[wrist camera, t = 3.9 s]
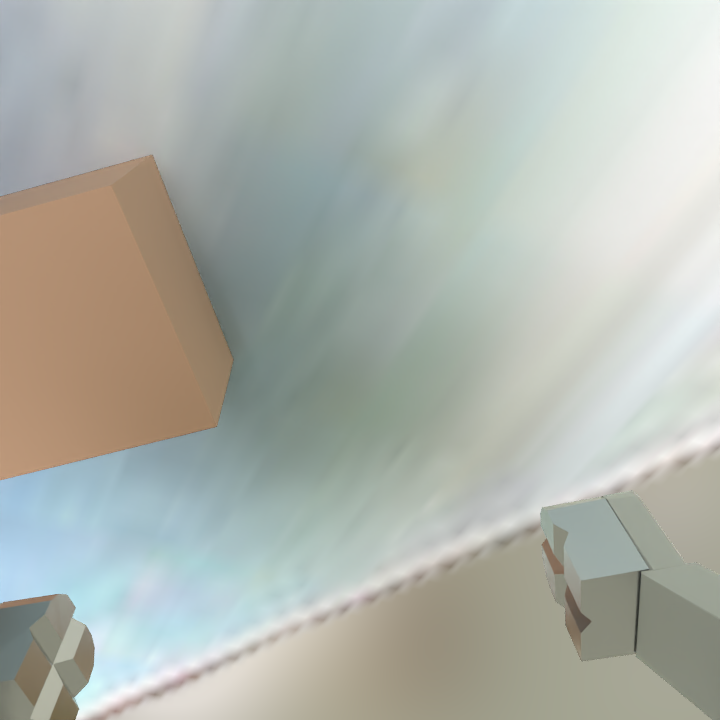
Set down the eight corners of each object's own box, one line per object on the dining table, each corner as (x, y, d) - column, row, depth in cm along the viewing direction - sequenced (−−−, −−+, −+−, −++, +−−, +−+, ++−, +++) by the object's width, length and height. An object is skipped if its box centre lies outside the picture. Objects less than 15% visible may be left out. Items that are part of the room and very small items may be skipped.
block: (43, 406, 31) (-13, 483, 26) (-70, 215, 26) (-167, 261, 21) (234, 358, 30) (216, 426, 25) (153, 153, 26) (111, 184, 20)
